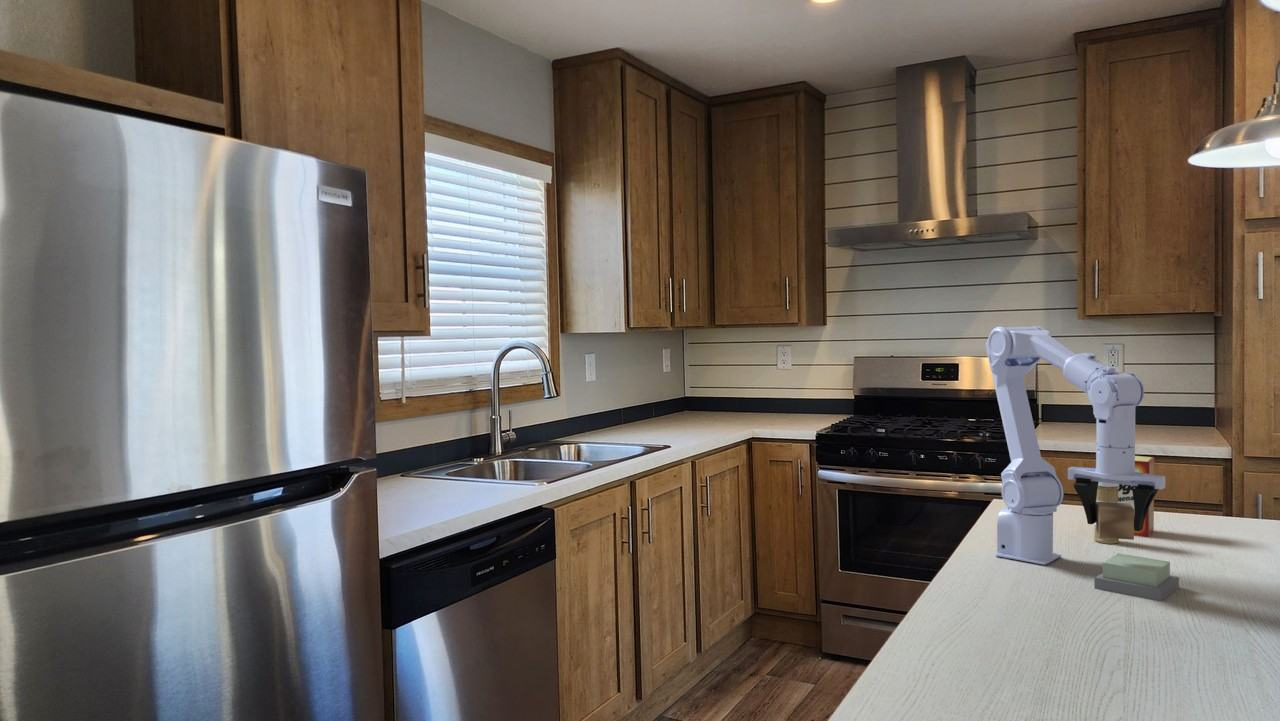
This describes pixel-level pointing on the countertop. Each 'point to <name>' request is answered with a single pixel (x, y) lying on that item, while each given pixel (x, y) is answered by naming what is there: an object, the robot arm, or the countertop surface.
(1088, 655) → the countertop surface
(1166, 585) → the tower base
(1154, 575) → the tower top
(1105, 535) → the walnut block
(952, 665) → the countertop surface
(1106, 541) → the sprinkles bottle
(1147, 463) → the baking soda box
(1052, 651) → the countertop surface
